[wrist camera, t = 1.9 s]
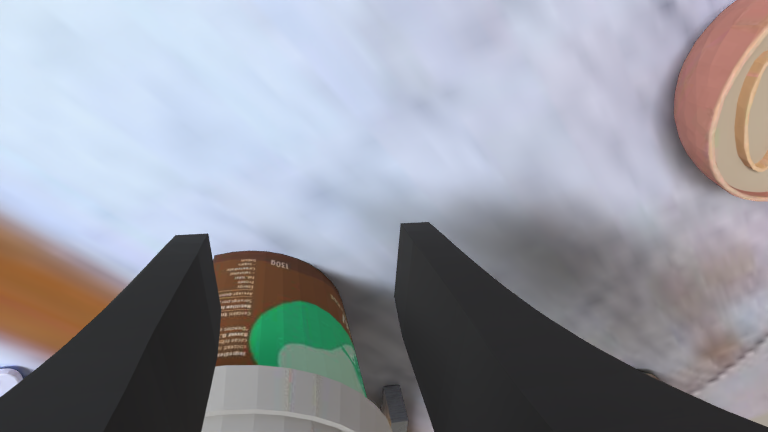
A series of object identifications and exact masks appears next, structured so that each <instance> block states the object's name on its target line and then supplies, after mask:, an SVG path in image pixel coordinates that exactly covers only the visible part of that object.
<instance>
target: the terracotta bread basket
mask: <svg viewBox="0 0 768 432" xmlns="http://www.w3.org/2000/svg"><path fill="white" fill-rule="evenodd" d="M674 119H675V123H676V127H677V131H678V135H679V139H680V141H681V143H682V145H683V147H684V149H685V151H686V153H687V154H688V156H689V157H690V158H691V159H692V161H693V162H694V163H695V165H696V166H697V167H698V168H699V169H700V170H701V171H702V172H703V173H704V174H705V175H706V176H707V177H708V178H709V179H711V180H712V181H713V182H715V183H716V184H717V185H719V186H720V187H722V188H723V189H724V190H726V191H727V192H729V193H730V194H732V195H734V196H737V197H740V198H743V199H747V200H753V201H768V0H736V1H735V2H734V3H732V4H731V5H730V6H729V7H727V8H726V9H725V10H724V11H722V12H721V13H720V14H719V15H718V16H717V17H716V18H715V20H714V21H713V22H712V23H711V24H710V25H709V26H708V27H707V28H706V29H705V31H704V32H703V33H702V34H701V36H700V37H699V38H698V39H697V41H696V42H695V44H694V45H693V47H692V49H691V51H690V53H689V54H688V56H687V58H686V60H685V61H684V63H683V66H682V68H681V71H680V74H679V77H678V81H677V86H676V91H675V99H674Z"/></svg>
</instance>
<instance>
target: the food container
mask: <svg viewBox="0 0 768 432" xmlns="http://www.w3.org/2000/svg"><path fill="white" fill-rule="evenodd" d="M213 265H214V270H215V276H216V282H217V287H218V293H219V299H220V305H221V323H220V336H219V346H218V356H217V361H216V366H215V370H214V375H213V380H212V385H211V389H210V394H209V399H208V403H207V408H206V412H205V417H204V422H203V426H202V431H201V432H393V431H392V429H391V427H390V425H389V422H388V420H387V418H386V417H385V416H384V414H383V413H382V412H381V411H380V410H379V408H378V407H377V406H376V405H375V404H374V403H373V402H371V401H370V400H369V399H367V396H366V392H365V388H364V384H363V380H362V376H361V373H360V369H359V365H358V361H357V357H356V353H355V349H354V345H353V342H352V338H351V334H350V330H349V326H348V322H347V318H346V314H345V311H344V307H343V303H342V299H341V297H340V295H339V292H338V290H337V289H336V287H335V286H334V285H333V283H332V282H331V280H329V279H328V278H327V277H326V276H325V275H324V274H323V273H322V272H321V271H319V270H318V269H316V268H315V267H313V266H312V265H310V264H308V263H306V262H303V261H301V260H299V259H297V258H293V257H290V256H287V255H284V254H278V253H273V252H267V251H239V252H230V253H225V254H220V255H215V256H214V259H213Z"/></svg>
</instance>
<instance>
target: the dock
mask: <svg viewBox="0 0 768 432" xmlns="http://www.w3.org/2000/svg"><path fill="white" fill-rule="evenodd" d="M382 413H383V414H384V416H385V417H386V418H387V420H388V422H389V425H390V427H391V429H392V431H393V432H407V427H408V418H407V414H406V409H405V405H404V401H403V397H402V393H401V389H400V385H394V386H386V387H384V389H383V401H382Z"/></svg>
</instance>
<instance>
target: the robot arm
mask: <svg viewBox="0 0 768 432" xmlns="http://www.w3.org/2000/svg"><path fill="white" fill-rule="evenodd" d="M394 298H395V303H396V308H397V313H398V318H399V323H400V328H401V332H402V337H403V340H404V343H405V346H406V349H407V352H408V355H409V358H410V361H411V364H412V367H413V370H414V373H415V376H416V379H417V382H418V385H419V388H420V391H421V394H422V396H423V399H424V402H425V405H426V408H427V411H428V414H429V417H430V420H431V423H432V426H433V429H434V432H768V427H766V426H763V425H761V424H758V423H756V422H753V421H751V420H748V419H746V418H743V417H741V416H738V415H735V414H733V413H730V412H728V411H725V410H723V409H721V408H718V407H716V406H714V405H712V404H709V403H707V402H705V401H703V400H701V399H698V398H696V397H694V396H692V395H689V394H687V393H685V392H683V391H681V390H678V389H676V388H674V387H672V386H670V385H668V384H666V383H664V382H661V381H659V380H657V379H655V378H653V377H651V376H649V375H647V374H645V373H643V372H641V371H639V370H637V369H635V368H633V367H632V366H630V365H628V364H626V363H624V362H622V361H620V360H618V359H617V358H615V357H613V356H611V355H609V354H607V353H605V352H604V351H602V350H600V349H598V348H596V347H595V346H593V345H591V344H589V343H588V342H586V341H584V340H583V339H581V338H579V337H578V336H576V335H574V334H573V333H571V332H570V331H568V330H566V329H565V328H563V327H562V326H560V325H559V324H557V323H555V322H554V321H552V320H551V319H549V318H547V317H546V316H545V315H543V314H542V313H540V312H539V311H537V310H536V309H534V308H533V307H531V306H530V305H529V304H527V303H526V302H525V301H523V300H522V299H521V298H519V297H518V296H516V295H515V294H514V293H512V292H511V291H510V290H508V289H507V288H506V287H504V286H503V285H502V284H501V283H499V282H498V281H497V280H495V279H494V278H493V277H492V276H490V275H489V274H488V273H487V272H486V271H484V270H483V269H482V268H481V267H480V266H478V265H477V264H476V263H475V262H474V261H472V260H471V259H470V258H469V257H468V256H467V255H465V254H464V253H463V252H462V251H461V250H460V249H459V248H457V247H456V246H455V245H454V244H453V243H452V242H451V241H450V240H448V239H447V238H446V237H445V236H444V235H443V234H442V233H441V232H439V231H438V230H437V229H436V228H435V227H434V226H432V225H431V224H430V223H429V222H422V223H402V224H401V227H400V238H399V249H398V260H397V271H396V282H395V294H394ZM220 323H221V305H220V299H219V293H218V287H217V282H216V276H215V270H214V265H213V259H212V253H211V247H210V242H209V236H208V234H192V235H175V236H174V237H173V239H172V240H171V241H170V242H169V243H168V244H167V245H166V246H165V247H164V248H163V249H162V250H161V251H160V252H159V253H158V254H157V255H156V256H155V257H154V258H153V259H152V260H151V262H150V263H149V264H148V265H147V266H146V267H145V268H144V269H143V270H142V271H141V272H140V273H139V274H138V275H137V276H136V277H135V278H134V280H133V281H132V282H131V283H130V284H129V285H128V286H127V287H126V288H125V289H124V290H123V291H122V292H121V293H120V294H119V295H118V296H117V297H116V298H115V299H114V300H113V301H112V302H111V303H110V304H109V305H108V306H107V307H106V308H105V309H104V310H103V311H102V312H101V313H100V314H98V315H97V316H96V317H95V318H94V319H93V320H92V321H91V322H90V323H89V324H88V325H86V326H85V327H84V328H83V329H82V330H81V331H80V332H79V333H78V334H77V335H76V336H75V337H73V338H72V339H71V340H70V341H69V342H68V343H67V344H66V345H65V346H63V347H62V348H61V349H60V350H59V351H58V352H56V353H55V354H54V355H53V356H52V357H50V358H49V359H48V360H47V361H46V362H44V363H43V364H42V365H41V366H39V367H38V368H37V369H36V370H34V371H33V372H32V373H31V374H29V375H28V376H27V377H25V378H24V379H23V378H22V376H21V374H20V373H19V372H18V371H16V370H14V369H7V368H6V369H0V432H201V431H202V426H203V422H204V417H205V412H206V408H207V403H208V399H209V394H210V389H211V385H212V380H213V375H214V370H215V366H216V361H217V356H218V346H219V336H220Z"/></svg>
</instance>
